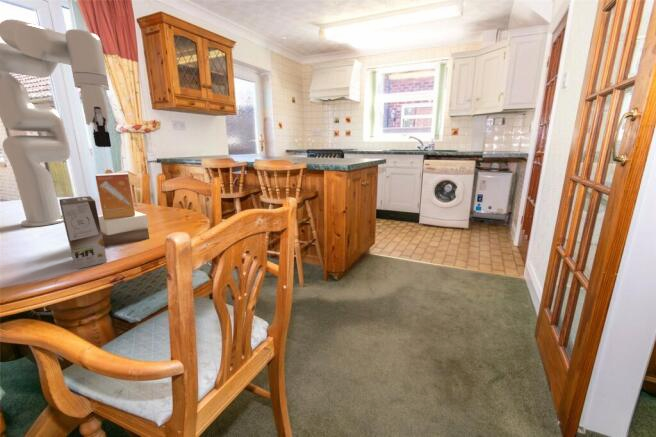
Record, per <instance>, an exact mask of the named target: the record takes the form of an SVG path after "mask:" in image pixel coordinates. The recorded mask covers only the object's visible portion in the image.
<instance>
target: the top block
mask: <svg viewBox="0 0 656 437" xmlns="http://www.w3.org/2000/svg"><path fill="white" fill-rule="evenodd" d="M98 218H99V223H100V228H101V232H103V233H105V234H106V235H112V234H117V233H122V232H127V231H132V230H136V229H141V228H146V227H147V228H149V221H148V214H145V213H142V212H139V211H137V210H135V216H127V217H118V218H109V219H104V218H103V214H98Z"/></svg>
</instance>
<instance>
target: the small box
mask: <svg viewBox="0 0 656 437" xmlns="http://www.w3.org/2000/svg"><path fill="white" fill-rule="evenodd" d="M95 181H96V186H97V192H98V197H99V202H100V207H101V213H102V215H103V218H104V219H109V218H118V217H127V216H135V211H136V210H135V206H134V200H133V194H132V190H131V182H130V176H129V172H112V173H96V174H95Z"/></svg>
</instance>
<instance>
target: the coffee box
mask: <svg viewBox="0 0 656 437" xmlns="http://www.w3.org/2000/svg"><path fill="white" fill-rule="evenodd" d="M58 202H59V208H60V212H61V215H62V216H63V220H64V221H63V224H64V227H65V231H66V237H67V241H68V244H69V249H70V252H71V256H72V261H73V263H74V266H75V269H77V270H79V269H84V268H88V267H91V266H97V265H100V264H106V263H107V262H108V261H107V260H108V259H107V254H106V249H105V247H104V243H103V238H102V233H101V228H100V223H99V218H98V216H99V214H98V210H97V203H96V201H95V199H94V198H92V196H90V195H88V196H79V197H77V196H76V197H70V198H61V199H60V198H59V200H58Z"/></svg>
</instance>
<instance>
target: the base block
mask: <svg viewBox="0 0 656 437" xmlns="http://www.w3.org/2000/svg"><path fill="white" fill-rule="evenodd" d="M101 233H102V238H103V243H104V248H105V246H106V247H111V245H112V246H117V245H123V244H127V243H134V242H138V241H143V240H144V241H145V240H149V239H150V233H149V227H146V228H141V229H136V230H132V231H127V232H122V233H117V234H112V235H106V234H105V233H103V232H101Z"/></svg>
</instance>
